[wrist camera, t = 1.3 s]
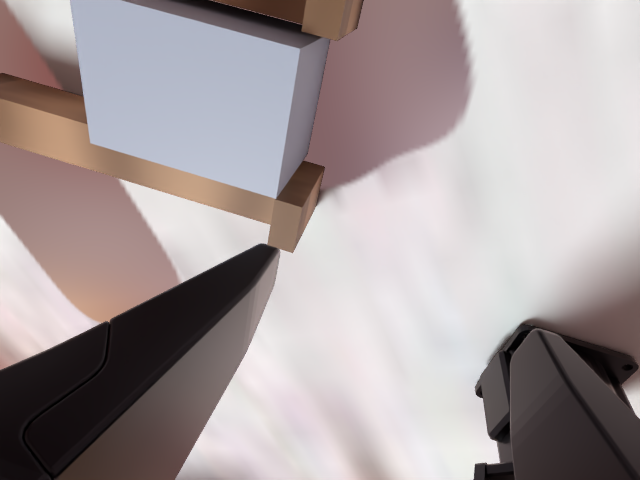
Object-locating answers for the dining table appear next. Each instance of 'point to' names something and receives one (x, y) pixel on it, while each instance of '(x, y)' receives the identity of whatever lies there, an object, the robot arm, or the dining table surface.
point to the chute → (75, 148)
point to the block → (200, 87)
